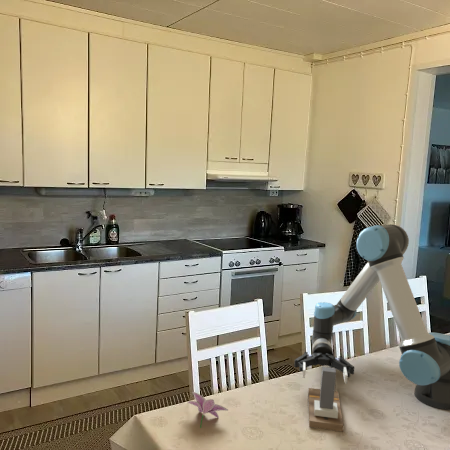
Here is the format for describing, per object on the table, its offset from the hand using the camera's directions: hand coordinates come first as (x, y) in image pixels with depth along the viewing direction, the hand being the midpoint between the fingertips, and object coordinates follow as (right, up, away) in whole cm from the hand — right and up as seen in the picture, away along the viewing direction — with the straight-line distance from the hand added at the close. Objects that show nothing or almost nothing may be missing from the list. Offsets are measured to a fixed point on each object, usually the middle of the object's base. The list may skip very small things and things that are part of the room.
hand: (324, 376), depth 153 cm
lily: (-39, -10, -11) cm, 42 cm away
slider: (-1, -9, -7) cm, 11 cm away
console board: (-1, -11, -1) cm, 11 cm away
